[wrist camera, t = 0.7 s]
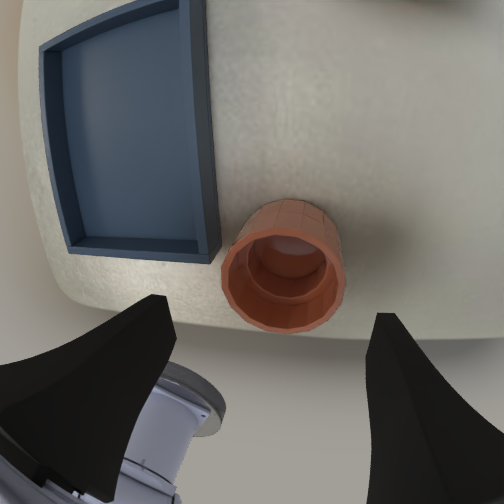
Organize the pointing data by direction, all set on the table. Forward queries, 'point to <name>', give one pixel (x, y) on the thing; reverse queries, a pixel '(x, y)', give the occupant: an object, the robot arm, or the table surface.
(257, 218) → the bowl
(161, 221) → the tray
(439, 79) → the table surface
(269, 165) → the table surface
